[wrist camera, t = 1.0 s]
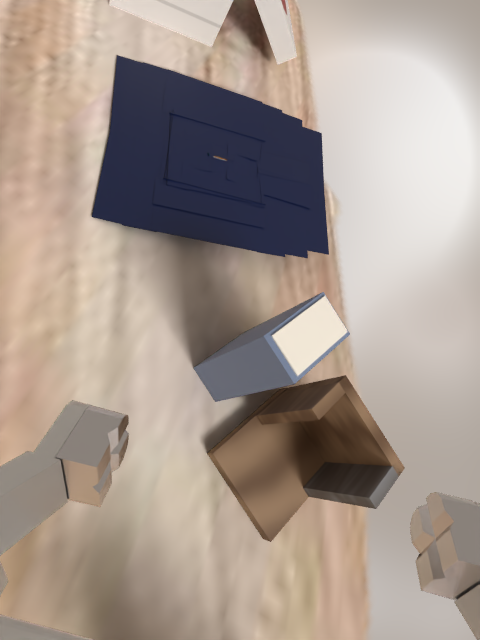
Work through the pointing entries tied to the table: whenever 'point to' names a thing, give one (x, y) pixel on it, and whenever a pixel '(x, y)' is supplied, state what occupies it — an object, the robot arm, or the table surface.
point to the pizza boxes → (214, 20)
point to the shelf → (306, 454)
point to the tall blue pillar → (274, 351)
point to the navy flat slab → (210, 165)
